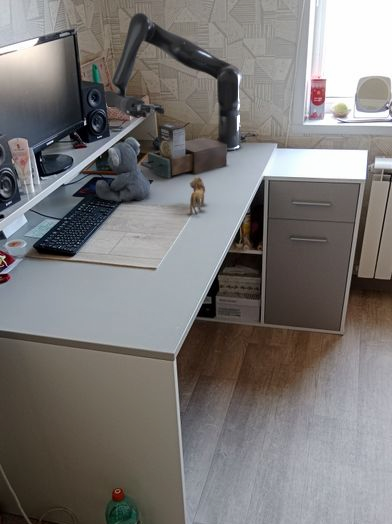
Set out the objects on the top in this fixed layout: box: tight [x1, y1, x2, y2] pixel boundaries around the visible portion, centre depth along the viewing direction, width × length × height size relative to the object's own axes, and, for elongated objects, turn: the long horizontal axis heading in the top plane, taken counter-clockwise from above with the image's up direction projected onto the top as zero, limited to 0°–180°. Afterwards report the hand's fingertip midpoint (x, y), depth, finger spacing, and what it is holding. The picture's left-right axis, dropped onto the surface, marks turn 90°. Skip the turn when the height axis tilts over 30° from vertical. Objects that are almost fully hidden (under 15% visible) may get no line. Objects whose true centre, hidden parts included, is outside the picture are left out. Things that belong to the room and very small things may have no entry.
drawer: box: [140, 150, 193, 179], centre depth 223 cm, size 21×14×7 cm, turn 128°
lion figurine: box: [189, 176, 206, 216], centre depth 191 cm, size 15×5×9 cm, turn 0°
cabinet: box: [185, 136, 228, 175], centre depth 231 cm, size 17×15×9 cm
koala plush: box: [95, 136, 151, 203], centre depth 200 cm, size 17×18×20 cm
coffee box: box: [158, 121, 186, 170], centre depth 221 cm, size 9×6×16 cm
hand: (154, 113), depth 225 cm, fingers open, 8 cm apart
